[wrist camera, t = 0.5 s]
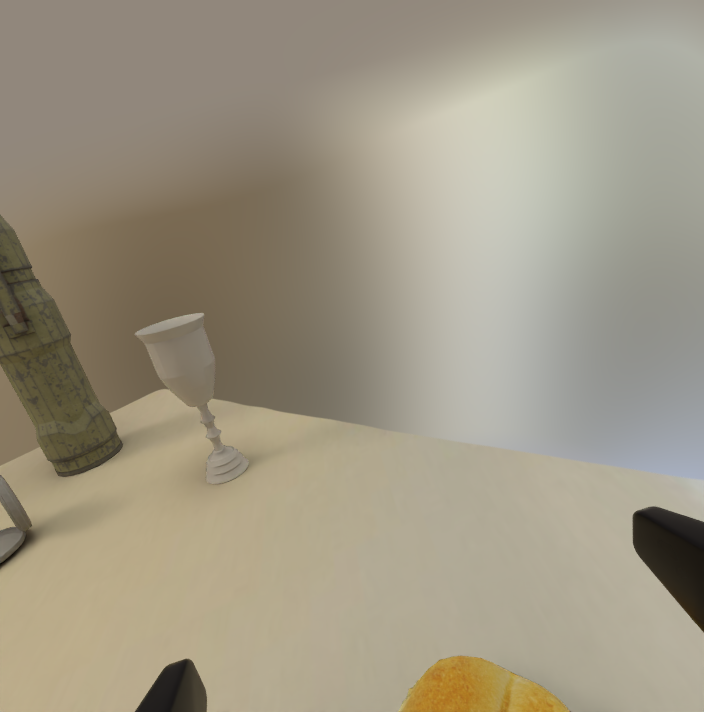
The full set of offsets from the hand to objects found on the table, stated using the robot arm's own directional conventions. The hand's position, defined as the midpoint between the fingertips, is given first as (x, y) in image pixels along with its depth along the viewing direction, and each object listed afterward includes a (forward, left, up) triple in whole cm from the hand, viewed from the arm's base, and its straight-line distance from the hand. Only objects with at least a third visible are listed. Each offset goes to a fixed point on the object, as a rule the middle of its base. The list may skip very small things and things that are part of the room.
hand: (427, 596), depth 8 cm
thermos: (+50, +39, -17) cm, 65 cm away
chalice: (+36, +16, -17) cm, 42 cm away
